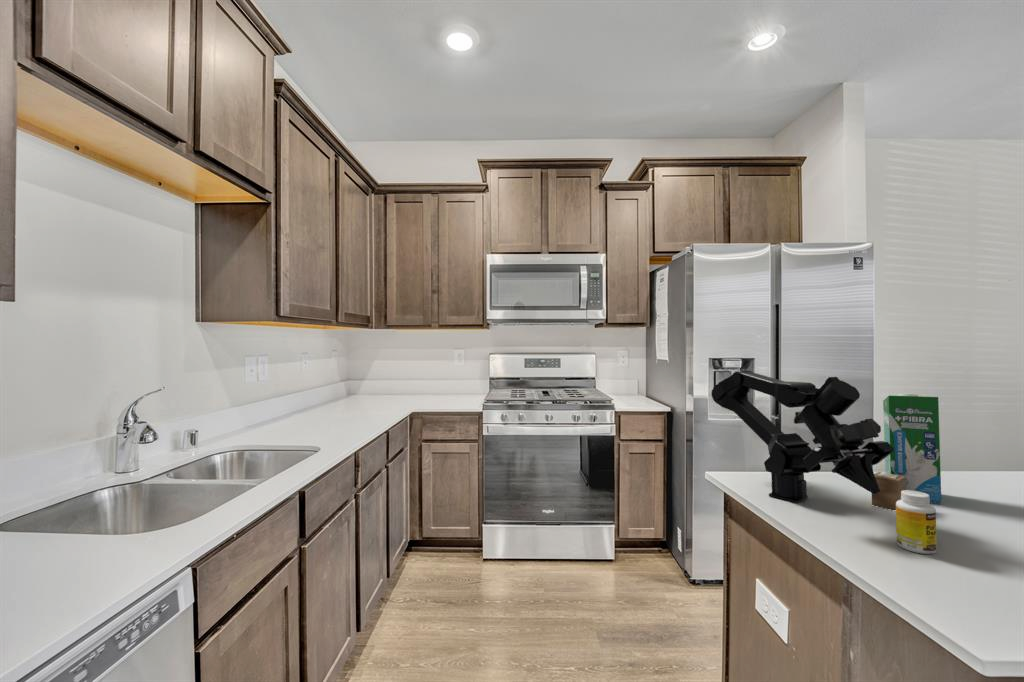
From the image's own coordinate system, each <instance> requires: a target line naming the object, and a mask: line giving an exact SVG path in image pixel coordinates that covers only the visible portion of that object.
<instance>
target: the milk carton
mask: <svg viewBox="0 0 1024 682" xmlns="http://www.w3.org/2000/svg"><path fill="white" fill-rule="evenodd" d="M882 403H883V404H882V405H883V437H884V438H883V439H884V440H883V441H885V442H888V443H889V444H890V445H891V446H892V447H893V449H894V451H893V452H892V453H891V454H889V455H888V456H887V457H886V458H884V467H885V468H884V471H885V472H884V473H888V474H894V475H899V476H905V477H906V490H914V491H919V492H923V493H926V494H928V495H929V498H930V503H931V502H936V503H935V504H939V503H941V504H942V481H941V480H942V479H941V478H942V475H941V473H942V472H941V444H940V443H941V441H940V413H939V411H940V408H939V396H921V395H920V396H919V394H916V393H897V395H892V394H891V395H889V394H888V396H886V397H885V398H884V399H883V400H882Z"/></svg>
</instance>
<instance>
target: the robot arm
mask: <svg viewBox="0 0 1024 682" xmlns="http://www.w3.org/2000/svg"><path fill="white" fill-rule="evenodd" d="M751 390H754V391H757V392H760V393H762V394H766V395H769V396H771V397H773V398H774V399H775V400H776V402H778V403H779V404H781V405H783V406H785V407H787V408H789V409H792V408H793V409H794V408H802V410H801V411H796V412H795V415H794V418H793V423H794V425H796V424H797V425H799V424H804V425H805V426H806V427H807V429H808V430H809V431H810V432H811V434H812V436H814V438H813V439H812V442H813V443H814V444H815V445H819V444H820V445H821V446H815V447H814V448H813V449H812V447H810V446H809V445H810V443H809V442H807V441H805V440H804V439H803V437H801V435H799V434H798V433H796V432H795V433H784V432H783V431H782V430H781V429H779V428H778V427H777V426H776V425H775V423H773V422H772V421H771V420H770V419H768V418H767V417H766V415H764V413H762V412H761V411H760V410H759V409H758V408H757V407H756V406H755V405H753V404H752V403H751V402H750V401H749V395H748V394H749V393H750V392H751ZM710 395H711V397H712V400H713V401H714V402H715V404H717V405H718V406H720V407H721V408H723V409H727V410H728V411H730V412H733V413H734V414H735V415H736V416H737V417H739V419H741V420H742V422H744V423H745V425H747V427H749V428H750V430H752V432H753V433H755V434H756V435H757V436H758V438H760V439H761V441H763V442H764V443H765V444H766V446H767V450H768V455H769V456H768V458H767V459H765V461H764V462H763V465H764V468H765V471H766V472H769V473H771V474H770V475H771V492H770V493H768V496H769V497H771V498H777V499H780V500H784V501H789V502H791V503H799V502H801V501H803V500H805V499H807V498H808V497H809V495H808V494H807V493H808V492H807V491H808V490H807V481H806V479H805V474H809V473H812V472H819V471H821V468H822V465H821V464H822V463H823V464H824V463H832V464H833V466H834V468H832V469H831V472H832V473H834V474H837V475H840V476H842V477H843V478H845V479H847V480H849V481H851V482H853V483H855V484H856V485H858V486H859V487H861V488H863V489H864V490H866V491H868V492H869V493H870V494H872V493H873V494H878V493H879V492H880V489H879V486H878V484H877V481H876V478H875V475H874V474H875V473H874V470H873V466H875V465H878V464H879V463H880V462H882V461H883V460H885V458H886V457H887V456H888V455H889V454H891V453H892V452H893V451H894V449H893V447H892V446H891V445H890V444H889V443H888V442H885V441H884V440H878V441H869V442H868V443H866V445H864V444H865V440H868V439H872V438H875V439H877V438H879V437H880V435H879V434H880V433H881V432H882V427H881V425H880V424H879V423H878V422H876V421H875V420H874V419H873V418H866V419H864V420H860V421H859V422H853V423H851V424H846V423H840V422H839V421H838V419H837V418H836V416H837V417H839V416H842V415H844V413H846V412H847V410H849V408H850V407H852V406H853V404H854V403H855V402H857V401H858V399H860V397H861V395H860V392H859V390H858V389H857V388H856V386H853V385H851V384H850V383H848V382H846V381H844V380H841V379H839V377H837V376H828V378H827V379H825V382H824V383H823V384H822V385H821V387H817V386H816V385H815V384H814V383H811V382H806V381H805V382H803V381H784V380H780V379H778V378H774V377H770V376H767V375H762V374H759V373H756V372H754V371H752V370H737V371H735V372H733V373H732V374H731V375H730V376H729V377H727V378H724V379H722V380H721V381H718V383H717V384H715V385H714V386H713V388H712V389H711V394H710ZM863 445H864V446H863ZM861 446H863V447H862V448H859V447H861Z"/></svg>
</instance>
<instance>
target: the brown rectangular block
mask: <svg viewBox="0 0 1024 682" xmlns="http://www.w3.org/2000/svg"><path fill="white" fill-rule="evenodd" d="M874 475H875V478H876V481H877V484H878V486H879V489H880V492H879V493H878V494H873V493H871V506H872V505H874V506H873V507H875V506H878V507H877V508H879V507H883V508H882V509H884V508H887V509H886V510H888V509H891V510H890V511H893V510H896V502H897V501H898V500H901V491H903V490H906V477H905V476H899V475H894V474H888V473H885V472H883V471H882V472H881V471H877V472H876V473H874Z"/></svg>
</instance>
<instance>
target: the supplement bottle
mask: <svg viewBox="0 0 1024 682" xmlns="http://www.w3.org/2000/svg"><path fill="white" fill-rule="evenodd" d="M936 513H937V511H936V507H934V506H933V505H932V504H931V502H930V498H929V495H928V494H926V493H923V492H919V491H914V490H903V491H901V500H898V501H897V502H896V511H895V525H896V526H895V527H896V530H895V531H896V532H895V533H896V543H897V545H898V546H900V547H901V548H903V549H904V550H907V551H910V552H913V553H917V554H924V555H930V554H934V553H936V551H937V514H936Z"/></svg>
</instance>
